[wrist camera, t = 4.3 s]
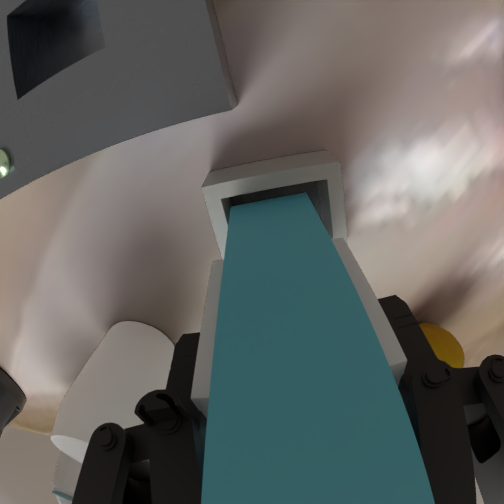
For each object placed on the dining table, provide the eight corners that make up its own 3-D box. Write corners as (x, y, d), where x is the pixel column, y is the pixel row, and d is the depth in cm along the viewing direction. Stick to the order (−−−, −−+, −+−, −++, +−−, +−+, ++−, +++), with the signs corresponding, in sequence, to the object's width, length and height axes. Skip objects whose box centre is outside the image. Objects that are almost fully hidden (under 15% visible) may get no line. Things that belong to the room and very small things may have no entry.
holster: (236, 269, 20) (234, 297, 18) (209, 171, 17) (201, 187, 14) (336, 251, 20) (348, 276, 17) (326, 150, 16) (340, 161, 14)
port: (45, 171, 16) (-8, 203, 11) (13, 11, 9) (-40, 8, 4) (237, 105, 15) (230, 110, 10) (191, -79, 8) (171, -125, 3)
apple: (439, 339, 25) (469, 398, 18) (385, 361, 26) (408, 427, 19) (443, 295, 22) (485, 360, 15) (381, 321, 23) (412, 396, 16)
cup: (140, 293, 22) (86, 431, 11) (209, 360, 25) (196, 484, 15) (80, 328, 24) (31, 433, 14) (143, 382, 28) (119, 482, 18)
